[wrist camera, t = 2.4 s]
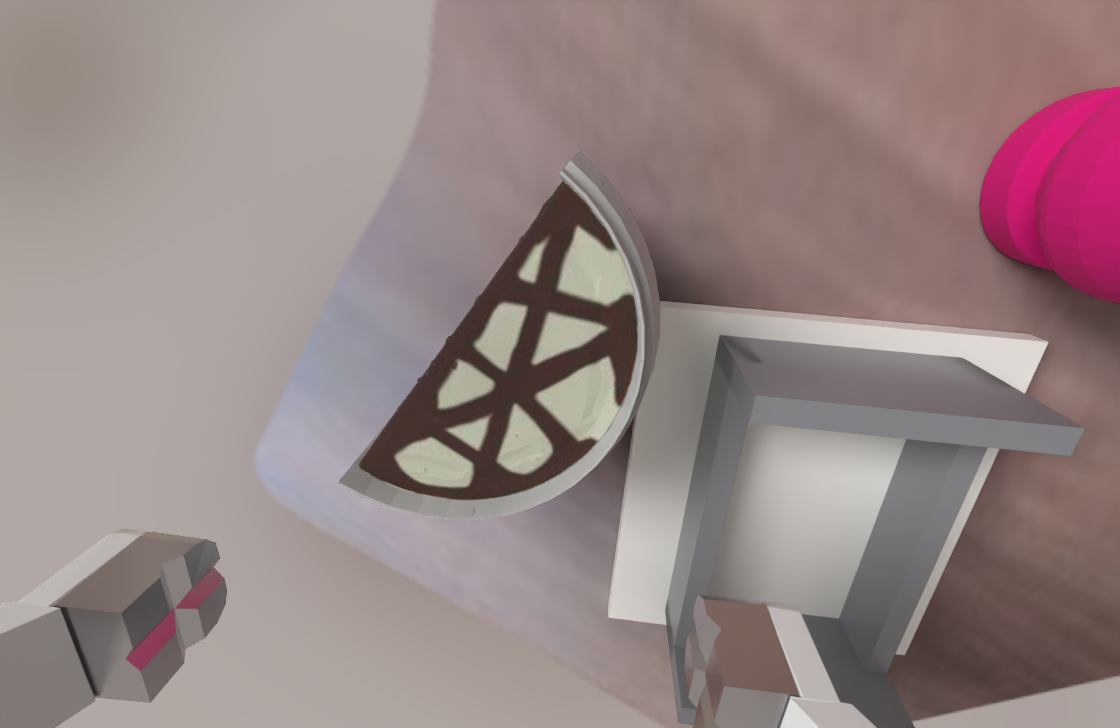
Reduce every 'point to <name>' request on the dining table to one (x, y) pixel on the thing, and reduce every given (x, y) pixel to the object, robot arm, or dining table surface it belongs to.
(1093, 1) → the dining table surface
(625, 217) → the food container
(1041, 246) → the pepper mill
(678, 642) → the slot stand
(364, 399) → the dining table surface
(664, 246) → the dining table surface
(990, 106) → the dining table surface
